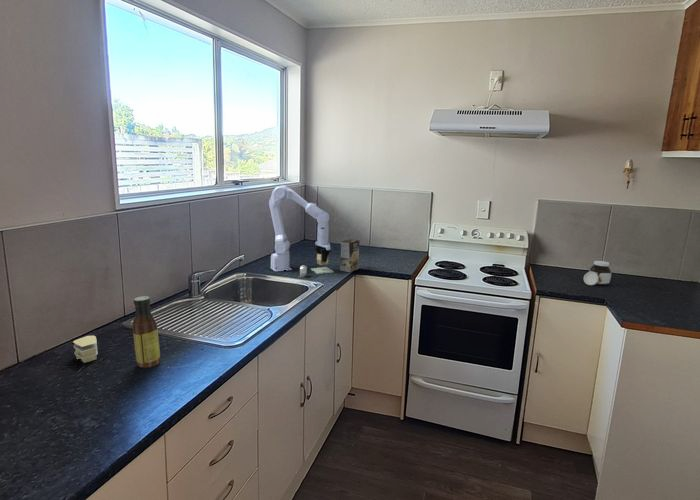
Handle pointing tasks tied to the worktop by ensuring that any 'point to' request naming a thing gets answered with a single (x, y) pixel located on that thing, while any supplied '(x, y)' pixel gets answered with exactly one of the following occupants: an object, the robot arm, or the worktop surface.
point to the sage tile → (322, 270)
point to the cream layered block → (86, 348)
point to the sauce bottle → (145, 334)
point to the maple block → (319, 260)
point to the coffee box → (349, 255)
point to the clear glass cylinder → (303, 271)
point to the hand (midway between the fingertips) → (322, 260)
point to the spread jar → (598, 274)
